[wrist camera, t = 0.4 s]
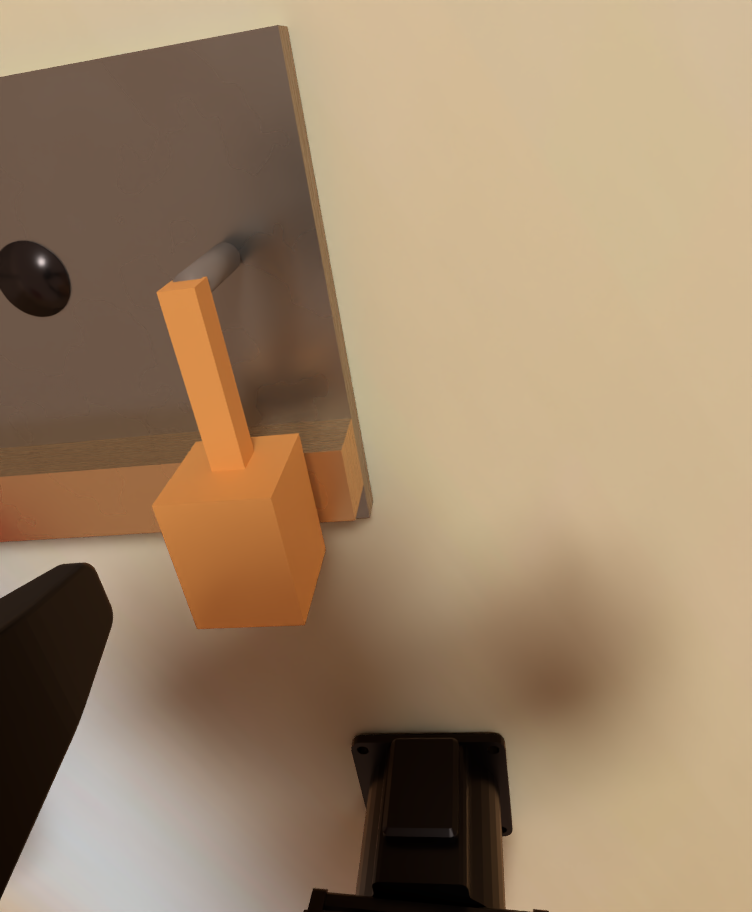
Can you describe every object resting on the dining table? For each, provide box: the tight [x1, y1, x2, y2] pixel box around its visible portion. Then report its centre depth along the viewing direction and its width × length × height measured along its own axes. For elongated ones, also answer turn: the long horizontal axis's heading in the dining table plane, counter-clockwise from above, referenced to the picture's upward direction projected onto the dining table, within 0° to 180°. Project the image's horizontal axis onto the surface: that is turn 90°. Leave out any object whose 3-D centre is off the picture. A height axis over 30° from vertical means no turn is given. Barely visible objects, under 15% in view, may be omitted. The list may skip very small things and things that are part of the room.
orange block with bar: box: [152, 242, 326, 629], centre depth 18 cm, size 9×3×5 cm, turn 8°
